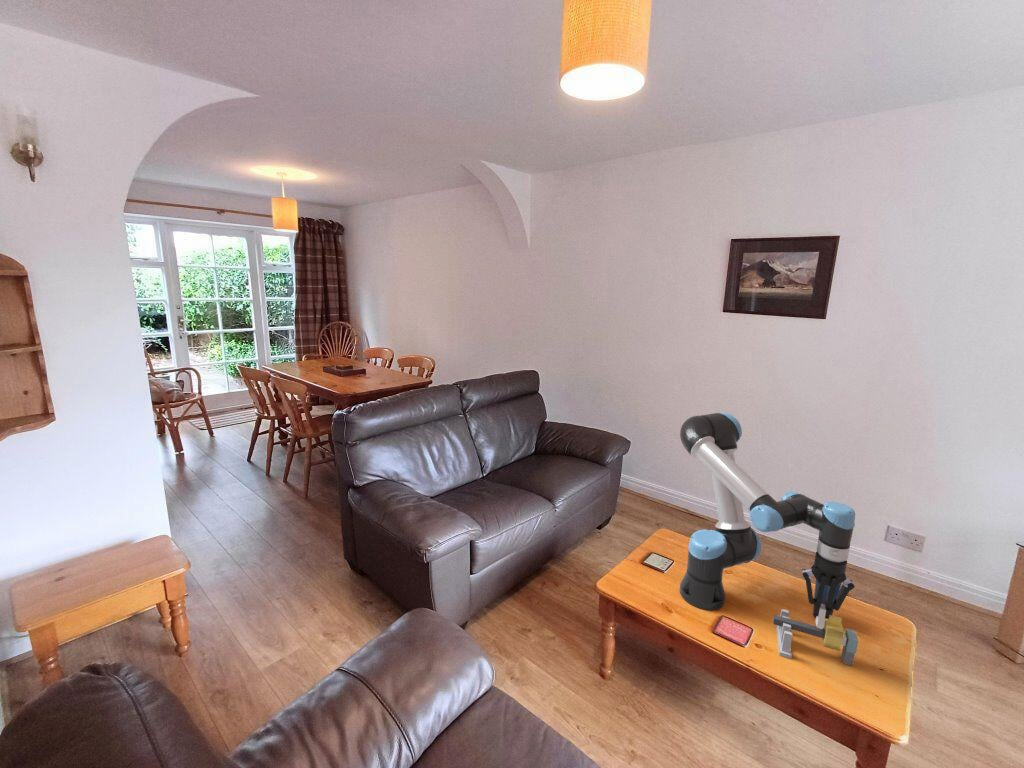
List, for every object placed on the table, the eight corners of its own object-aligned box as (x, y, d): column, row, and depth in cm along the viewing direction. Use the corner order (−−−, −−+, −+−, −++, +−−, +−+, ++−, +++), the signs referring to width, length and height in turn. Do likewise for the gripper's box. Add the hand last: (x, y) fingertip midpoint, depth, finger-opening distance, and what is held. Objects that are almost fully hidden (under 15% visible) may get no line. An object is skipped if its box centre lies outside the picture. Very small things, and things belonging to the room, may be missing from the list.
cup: (826, 627, 149) (834, 587, 146) (805, 614, 155) (812, 575, 151) (838, 620, 152) (845, 581, 149) (817, 607, 158) (823, 569, 155)
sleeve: (823, 646, 136) (828, 620, 134) (821, 634, 140) (825, 609, 138) (840, 651, 134) (845, 624, 132) (836, 639, 138) (841, 613, 136)
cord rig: (771, 653, 139) (775, 627, 137) (769, 624, 150) (773, 600, 148) (856, 679, 130) (861, 651, 128) (846, 646, 141) (851, 621, 139)
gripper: (806, 556, 131) (795, 626, 137) (862, 568, 126) (847, 641, 131) (803, 543, 138) (792, 610, 143) (856, 554, 132) (842, 624, 138)
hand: (819, 625), depth 137 cm, fingers closed
